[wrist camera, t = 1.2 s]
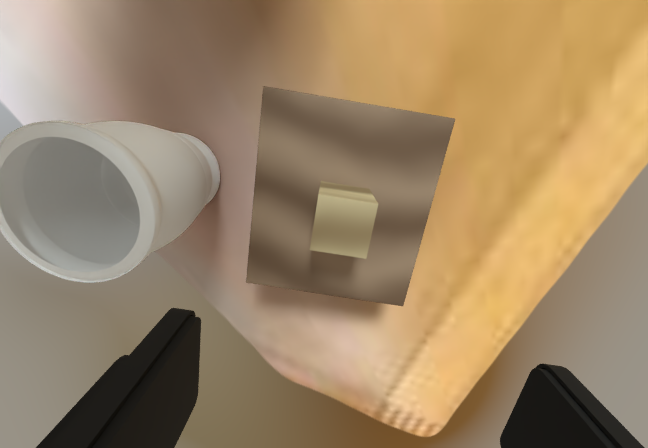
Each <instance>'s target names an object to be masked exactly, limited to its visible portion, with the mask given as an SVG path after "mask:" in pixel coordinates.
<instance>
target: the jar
mask: <svg viewBox="0 0 648 448" xmlns="http://www.w3.org/2000/svg"><path fill="white" fill-rule="evenodd" d="M219 184H220V169H219V165H218V162H217V160H216V157H215V156H214V154H213V152H212V151H211V150H210V149H209V147H208V146H207V145H206V144H204V143H203V142H202V141H201V140H199V139H197V138H196V137H194V136H191V135H188V134H185V133H174V132H172V131H169V130H165V129H161V128H157V127H154V126H151V125H147V124H142V123H136V122H128V121H105V122H95V123H89V124H80V123H75V122H68V121H47V122H37V123H32V124H28V125H25V126H23V127H20V128H18V129H16V130H14V131H13V132H11V133H10V134H8V135H7V136H6V137H5V138H4V139H2V141H1V142H0V231H1V233H2V234H3V236H4V237H5V238H6V240H7V241H8V242H9V243H10V244H11V245H12V247H13V248H14V249H15V250H16V251H17V252H18V253H19V254H21V255H22V256H23V257H24V258H25V259H27V260H28V261H29V262H31V263H32V264H34V265H35V266H37V267H38V268H40V269H42V270H44V271H46V272H48V273H50V274H52V275H55V276H57V277H60V278H63V279H67V280H71V281H76V282H85V283H95V282H104V281H108V280H112V279H115V278H117V277H120V276H122V275H124V274H126V273H128V272H129V271H131V270H132V269H134V268H135V267H136V266H138V265H139V264H140V263H141V262H143V261H144V260H145V259H146V257H147V256H148V255H149V254H150V253H152V252H154V251H156V250H158V249H160V248H162V247H164V246H165V245H167V244H169V243H170V242H172V241H173V240H175V239H176V238H177V237H178V236H180V235H181V234H182V233H183V232H184V231H185V230H186V229H187V228H188V227H189V226H190V225H191V224H192V223H193V221H194V220H195V219H196V217H197V216H198V214H199V213H200V212H201V211H202V209H203V208H204V206H205V205H206V204H207V203H209V202H210V201H211V200H212V199H213V197H214V196H215V194H216V192H217V190H218V188H219Z"/></svg>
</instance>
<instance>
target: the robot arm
mask: <svg viewBox="0 0 648 448" xmlns="http://www.w3.org/2000/svg"><path fill="white" fill-rule="evenodd" d="M200 332H201V319H200V318H199V317H195V313H194V311H191V310H184V309H177V308H171V309H170V310H169V311H168V312H167V313H166V314H165V316H164V317H163V318H162V319H161V320H160V321H159V322H158V323H157V325H156V326H155V327H154V328H153V329H152V330H151V331H150V332H149V334H148V335H147V336H146V337H145V338H144V339H143V341H142V342H141V343H140V344H139V345H138V346H137V347H136V348H135V349H134V351H133V352H132V353H131V354H130V355H129V356H128V355H124V356H122V357H120V358H119V359H118V360H117V361H116V362H114V364H113V365H112V366H111V367H110V368H109V369H108V370H107V371H106V372H105V373H104V375H102V376H101V378H100V379H99V380H98V381H97V382H96V383H95V384H94V385H93V386H92V387H91V388H90V390H89V391H88V392H87V393H86V394H85V395H84V396H83V397H82V398H81V399H80V400H79V401H78V403H77V404H76V405H75V406H74V407H73V408H72V409H71V410H70V411H69V412H68V413H67V414H66V416H65V417H64V418H63V419H62V420H61V421H60V422H59V423H58V424H57V425H56V426H55V428H54V429H53V430H52V431H51V432H50V433H49V434H48V435H47V436H46V437H45V439H43V441H42V442H41V443H40V444H39V445H38V446H37V447H36V448H174V447H175V445H176V443H177V441H178V439H179V437H180V435H181V433H182V431H183V429H184V427H185V425H186V423H187V421H188V419H189V417H190V414H191V412H192V410H193V408H194V406H195V403H196V400H197V396H198V382H199V357H200ZM500 445H501V448H644V447H643V446H642V445H641V444H640V443H639V442H638V441H637V440H636V439H635V438H634V437H633V436H632V435H631V434H630V433H629V431H627V429H625V427H624V426H622V424H621V423H620V422H619V421H618V420H617V419H616V418H615V417H614V416H613V415H612V414H611V413H610V412H609V411H608V410H607V409H606V408H605V407H604V406H603V405H602V404H601V403H600V402H599V401H598V400H597V399H596V398H595V397H594V396H593V394H592V393H591V392H590V391H589V390H587V388H586V387H585V386H584V385H583V384H582V383H581V382H580V381H579V380H578V379H577V378H576V377H575V376H574V375H573V374H572V373H571V372H570V371H569V370H568V369H566V368H564V367H562V366H555V365H548V364H539V365H538V366H537V367H536V368H534V369H533V370H532V371H531V372H530V374H529V376H528V379H527V381H526V383H525V386H524V387H523V389H522V392H521V394H520V396H519V398H518V400H517V403H516V405H515V407H514V409H513V411H512V413H511V415H510V418H509V420H508V422H507V424H506V426H505V428H504V430H503V432H502V435H501V438H500Z"/></svg>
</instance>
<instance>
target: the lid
mask: <svg viewBox="0 0 648 448" xmlns="http://www.w3.org/2000/svg"><path fill="white" fill-rule="evenodd" d="M454 122H455V119H454V118H448V117H442V116H436V115H430V114H424V113H418V112H412V111H407V110H401V109H395V108H389V107H383V106H377V105H371V104H365V103H359V102H354V101H348V100H342V99H336V98H330V97H324V96H318V95H312V94H306V93H300V92H295V91H289V90H283V89H277V88H271V87H265V86H263V97H262V108H261V119H260V131H259V142H258V153H257V165H256V176H255V188H254V199H253V210H252V222H251V233H250V245H249V256H248V267H247V279H246V283H253V284H259V285H266V286H273V287H279V288H286V289H292V290H299V291H306V292H312V293H319V294H325V295H332V296H339V297H345V298H352V299H358V300H365V301H372V302H378V303H385V304H391V305H398V306H403V305H404V301H405V298H406V294H407V290H408V287H409V283H410V280H411V276H412V272H413V269H414V265H415V262H416V258H417V254H418V251H419V247H420V244H421V240H422V236H423V233H424V229H425V226H426V222H427V219H428V215H429V211H430V208H431V204H432V201H433V197H434V193H435V190H436V186H437V183H438V179H439V175H440V172H441V168H442V165H443V161H444V157H445V154H446V150H447V147H448V143H449V140H450V136H451V132H452V129H453V125H454Z"/></svg>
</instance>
